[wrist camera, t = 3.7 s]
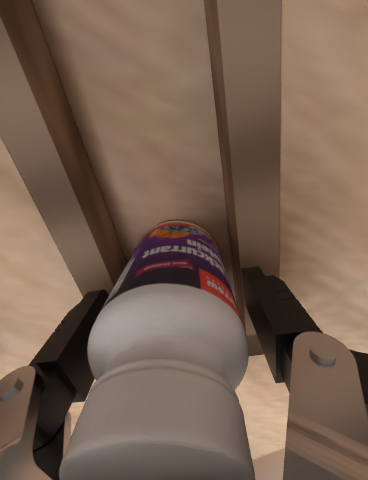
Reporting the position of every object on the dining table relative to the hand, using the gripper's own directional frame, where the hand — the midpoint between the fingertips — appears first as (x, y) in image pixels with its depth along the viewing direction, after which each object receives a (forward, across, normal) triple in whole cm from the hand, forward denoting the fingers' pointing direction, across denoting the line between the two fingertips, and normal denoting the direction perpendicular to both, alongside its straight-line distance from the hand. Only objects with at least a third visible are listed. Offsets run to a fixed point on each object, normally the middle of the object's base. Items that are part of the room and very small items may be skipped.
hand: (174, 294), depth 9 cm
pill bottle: (+4, 0, 0) cm, 4 cm away
